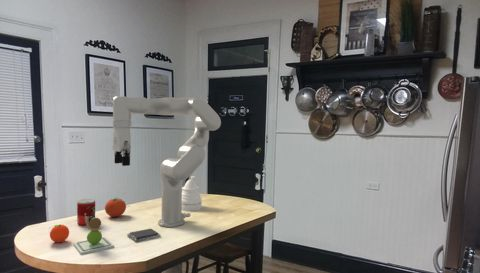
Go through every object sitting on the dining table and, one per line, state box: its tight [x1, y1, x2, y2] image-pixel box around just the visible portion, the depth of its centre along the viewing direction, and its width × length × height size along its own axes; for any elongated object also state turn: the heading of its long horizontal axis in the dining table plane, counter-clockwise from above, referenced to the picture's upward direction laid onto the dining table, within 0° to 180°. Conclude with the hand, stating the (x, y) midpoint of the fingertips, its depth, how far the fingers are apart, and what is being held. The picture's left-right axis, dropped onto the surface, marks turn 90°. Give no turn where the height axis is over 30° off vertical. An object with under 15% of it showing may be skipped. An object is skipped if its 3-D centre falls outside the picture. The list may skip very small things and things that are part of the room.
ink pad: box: [126, 228, 161, 243], centre depth 139 cm, size 11×9×2 cm
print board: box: [73, 236, 115, 256], centre depth 127 cm, size 12×12×1 cm
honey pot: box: [182, 175, 203, 212], centre depth 187 cm, size 13×13×18 cm
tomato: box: [104, 197, 127, 218], centre depth 168 cm, size 10×10×10 cm
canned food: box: [76, 198, 96, 227], centre depth 155 cm, size 8×8×11 cm
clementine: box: [49, 224, 70, 243], centre depth 131 cm, size 8×7×7 cm
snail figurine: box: [84, 213, 103, 244], centre depth 127 cm, size 5×6×12 cm
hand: (122, 164), depth 142 cm, fingers open, 9 cm apart
